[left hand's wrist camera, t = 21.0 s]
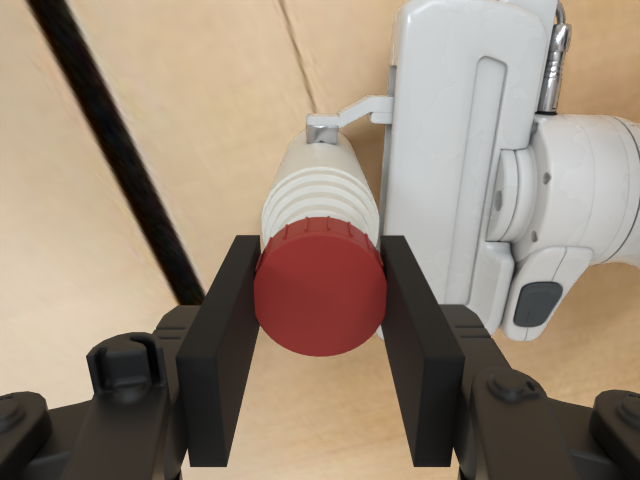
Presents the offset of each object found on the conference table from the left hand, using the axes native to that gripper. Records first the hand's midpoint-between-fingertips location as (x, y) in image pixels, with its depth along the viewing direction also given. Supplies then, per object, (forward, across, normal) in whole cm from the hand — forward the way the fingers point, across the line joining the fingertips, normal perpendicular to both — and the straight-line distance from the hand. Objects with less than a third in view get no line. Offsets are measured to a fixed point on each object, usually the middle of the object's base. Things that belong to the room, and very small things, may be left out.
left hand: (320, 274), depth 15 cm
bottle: (+19, 0, 0) cm, 19 cm away
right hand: (+12, -1, 0) cm, 12 cm away
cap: (-1, 0, 0) cm, 1 cm away
